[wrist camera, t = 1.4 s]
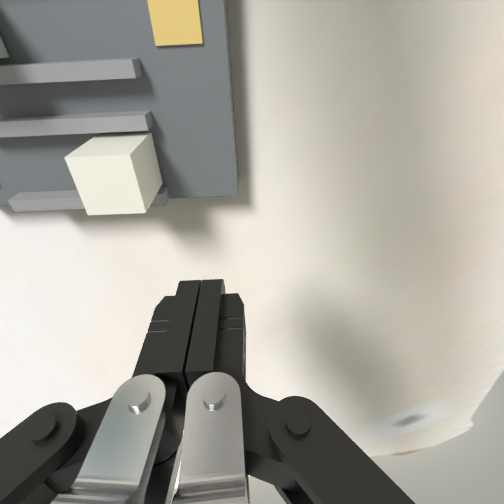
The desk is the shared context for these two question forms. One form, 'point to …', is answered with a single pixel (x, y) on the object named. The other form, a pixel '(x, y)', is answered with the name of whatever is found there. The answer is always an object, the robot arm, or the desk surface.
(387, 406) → the desk surface
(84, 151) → the cream tab
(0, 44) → the pale green block
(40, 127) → the switch panel
